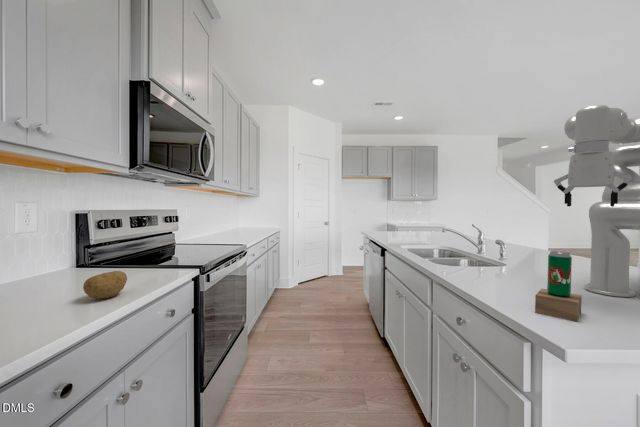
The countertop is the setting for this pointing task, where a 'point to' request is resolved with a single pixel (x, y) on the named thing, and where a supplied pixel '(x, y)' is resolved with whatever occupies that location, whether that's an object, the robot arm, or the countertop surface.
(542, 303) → the walnut block
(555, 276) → the soda can
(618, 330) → the countertop surface
